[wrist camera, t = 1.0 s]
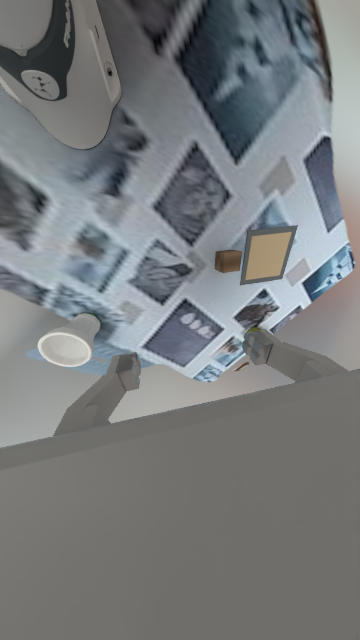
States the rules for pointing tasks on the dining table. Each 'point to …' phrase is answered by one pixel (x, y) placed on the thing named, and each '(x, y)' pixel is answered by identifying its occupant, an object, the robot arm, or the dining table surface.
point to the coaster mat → (266, 254)
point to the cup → (71, 341)
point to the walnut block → (228, 260)
